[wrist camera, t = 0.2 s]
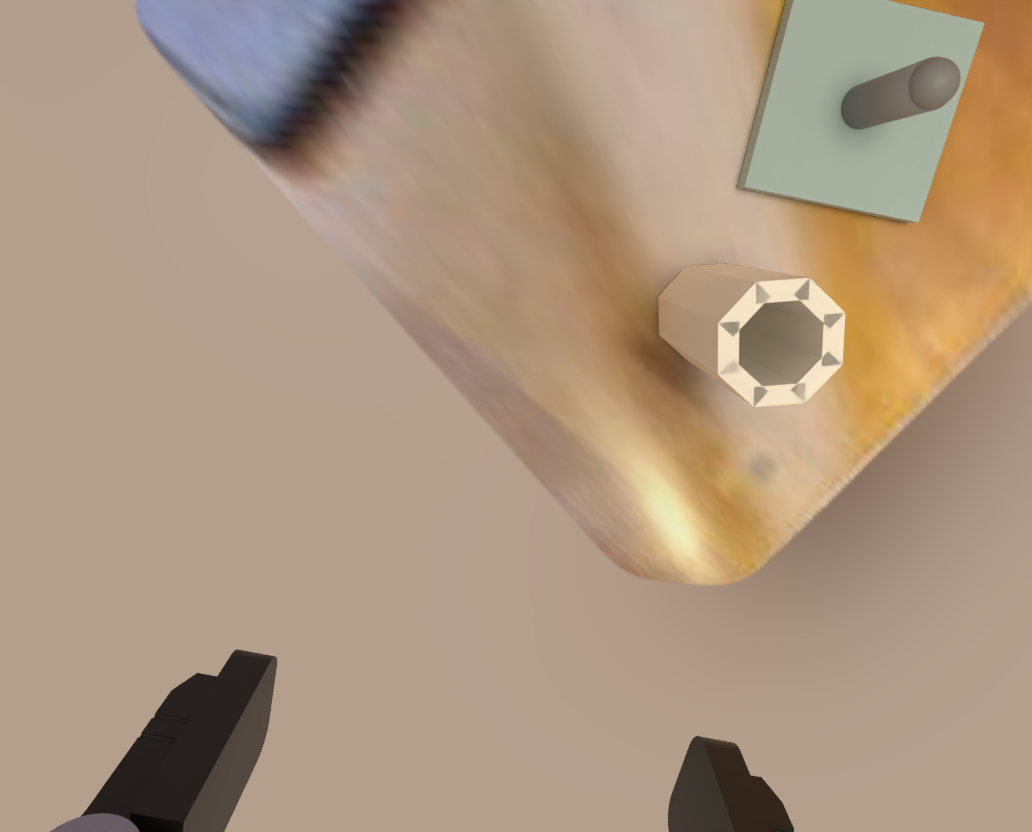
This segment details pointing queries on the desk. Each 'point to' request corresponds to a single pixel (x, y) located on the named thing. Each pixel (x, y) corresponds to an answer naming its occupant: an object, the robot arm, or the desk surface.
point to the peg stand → (858, 105)
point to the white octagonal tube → (754, 330)
